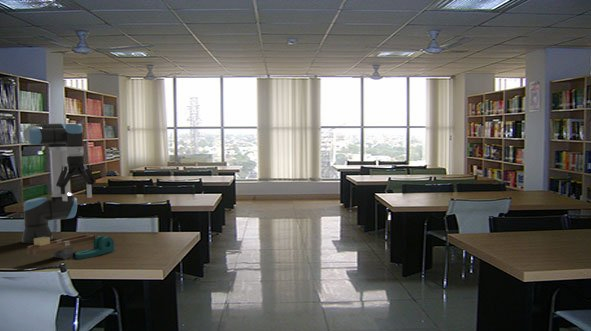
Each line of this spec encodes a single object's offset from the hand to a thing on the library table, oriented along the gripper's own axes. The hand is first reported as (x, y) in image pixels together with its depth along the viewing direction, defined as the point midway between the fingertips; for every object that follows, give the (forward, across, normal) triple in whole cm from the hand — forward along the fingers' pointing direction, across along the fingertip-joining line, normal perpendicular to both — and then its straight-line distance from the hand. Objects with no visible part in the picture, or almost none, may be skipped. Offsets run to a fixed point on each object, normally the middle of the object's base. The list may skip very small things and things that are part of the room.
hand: (77, 199), depth 238 cm
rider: (+21, -18, +2) cm, 28 cm away
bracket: (+27, +1, -8) cm, 28 cm away
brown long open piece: (+27, -8, +1) cm, 28 cm away
